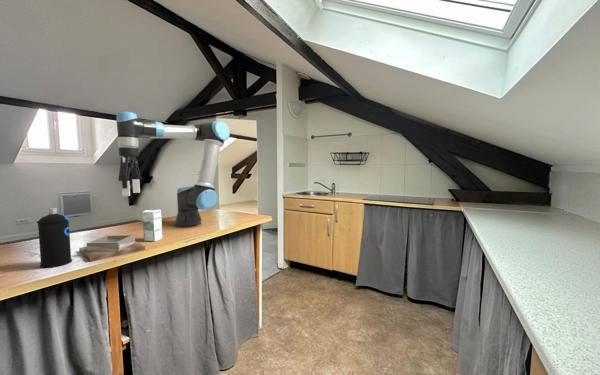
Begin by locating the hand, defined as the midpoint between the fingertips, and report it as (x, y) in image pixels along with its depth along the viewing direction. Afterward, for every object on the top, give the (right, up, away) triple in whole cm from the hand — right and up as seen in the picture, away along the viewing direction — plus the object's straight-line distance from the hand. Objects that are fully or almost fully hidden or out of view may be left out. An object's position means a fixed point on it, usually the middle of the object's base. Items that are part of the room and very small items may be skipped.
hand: (131, 194), depth 113 cm
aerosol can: (-10, -24, -25) cm, 36 cm away
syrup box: (+7, -22, +5) cm, 24 cm away
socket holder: (-1, -23, -10) cm, 25 cm away
